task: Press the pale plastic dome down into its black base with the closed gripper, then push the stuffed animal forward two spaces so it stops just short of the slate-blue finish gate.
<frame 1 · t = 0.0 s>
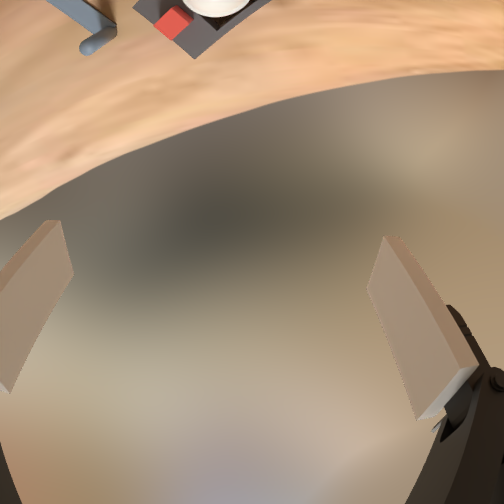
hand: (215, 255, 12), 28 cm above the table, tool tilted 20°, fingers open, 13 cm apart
finish gate: (69, 2, 22), on the table
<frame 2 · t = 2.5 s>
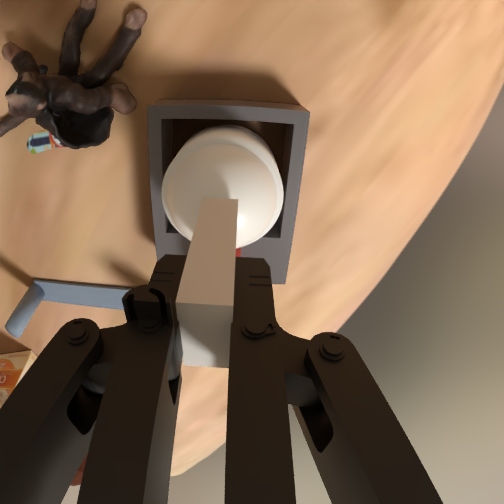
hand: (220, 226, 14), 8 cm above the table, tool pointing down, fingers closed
coffeecake box: (19, 366, 36), on the table
muffin: (71, 444, 53), on the table
stuffed animal: (64, 84, 17), on the table
dome base: (226, 185, 22), on the table
dome: (222, 193, 17), point 5 cm above the table, slide at 0.4 cm, touching gripper
finish gate: (96, 295, 27), on the table
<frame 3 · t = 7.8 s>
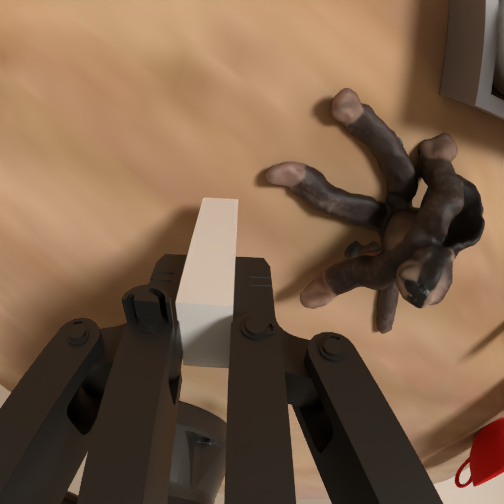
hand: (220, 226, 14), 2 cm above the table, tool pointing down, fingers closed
stuffed animal: (381, 223, 17), on the table
ceramic cup: (481, 432, 40), on the table
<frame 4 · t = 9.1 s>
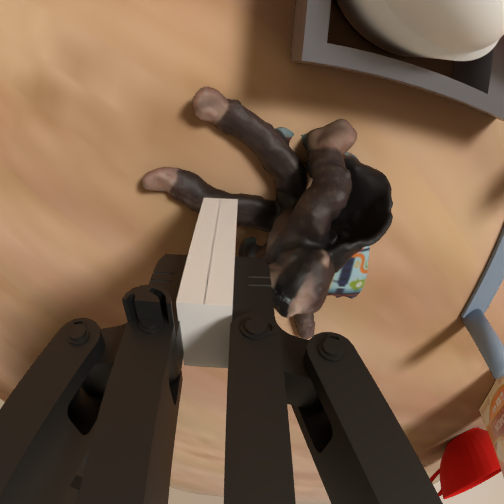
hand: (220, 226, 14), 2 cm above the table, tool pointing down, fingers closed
stuffed animal: (281, 223, 17), on the table
dome base: (422, 5, 10), on the table
ceramic cup: (454, 441, 40), on the table
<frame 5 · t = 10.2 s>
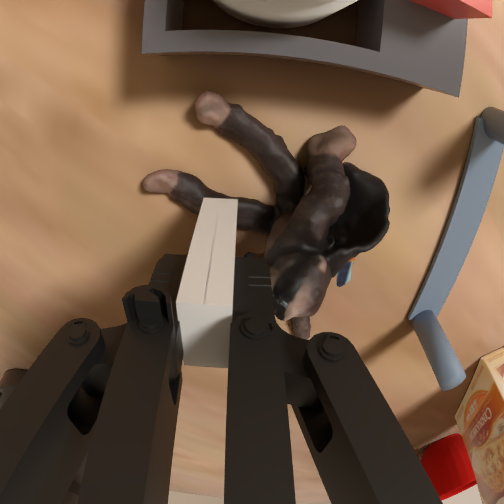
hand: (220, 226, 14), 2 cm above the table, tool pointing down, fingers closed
coffeecake box: (487, 380, 28), on the table
stuffed animal: (279, 226, 17), on the table
ceramic cup: (432, 447, 40), on the table
finish gate: (459, 231, 16), on the table
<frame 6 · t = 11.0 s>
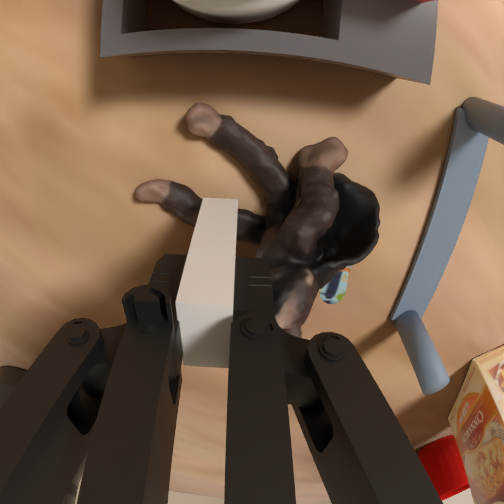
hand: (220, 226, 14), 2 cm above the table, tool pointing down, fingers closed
coffeecake box: (480, 381, 28), on the table
stuffed animal: (270, 236, 17), on the table, touching gripper
ceramic cup: (427, 449, 39), on the table
finish gate: (442, 228, 16), on the table
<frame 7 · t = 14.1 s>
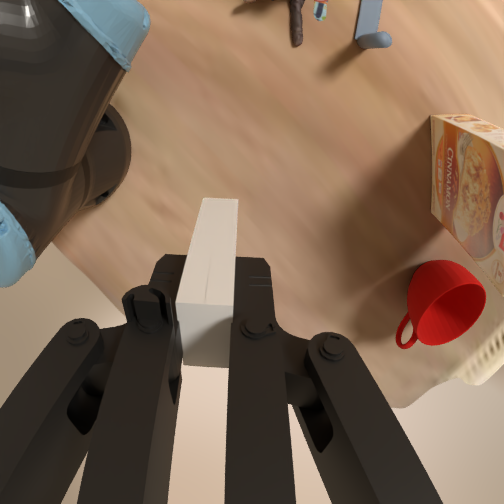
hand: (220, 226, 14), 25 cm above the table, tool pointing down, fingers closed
coffeecake box: (449, 163, 38), on the table
ceramic cup: (419, 283, 49), on the table
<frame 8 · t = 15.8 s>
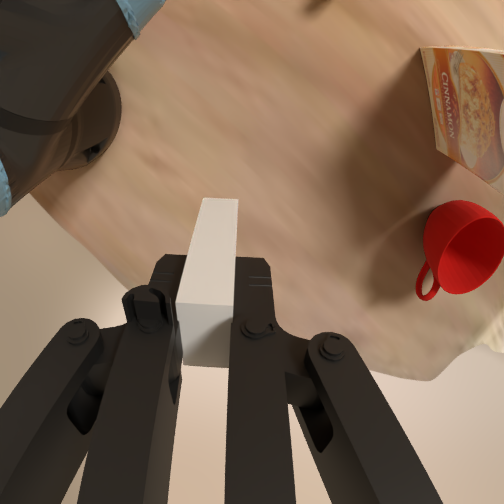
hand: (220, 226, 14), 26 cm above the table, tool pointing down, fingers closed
coffeecake box: (447, 97, 33), on the table
ceramic cup: (434, 230, 45), on the table
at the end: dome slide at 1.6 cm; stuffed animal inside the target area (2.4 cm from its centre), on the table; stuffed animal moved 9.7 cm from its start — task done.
